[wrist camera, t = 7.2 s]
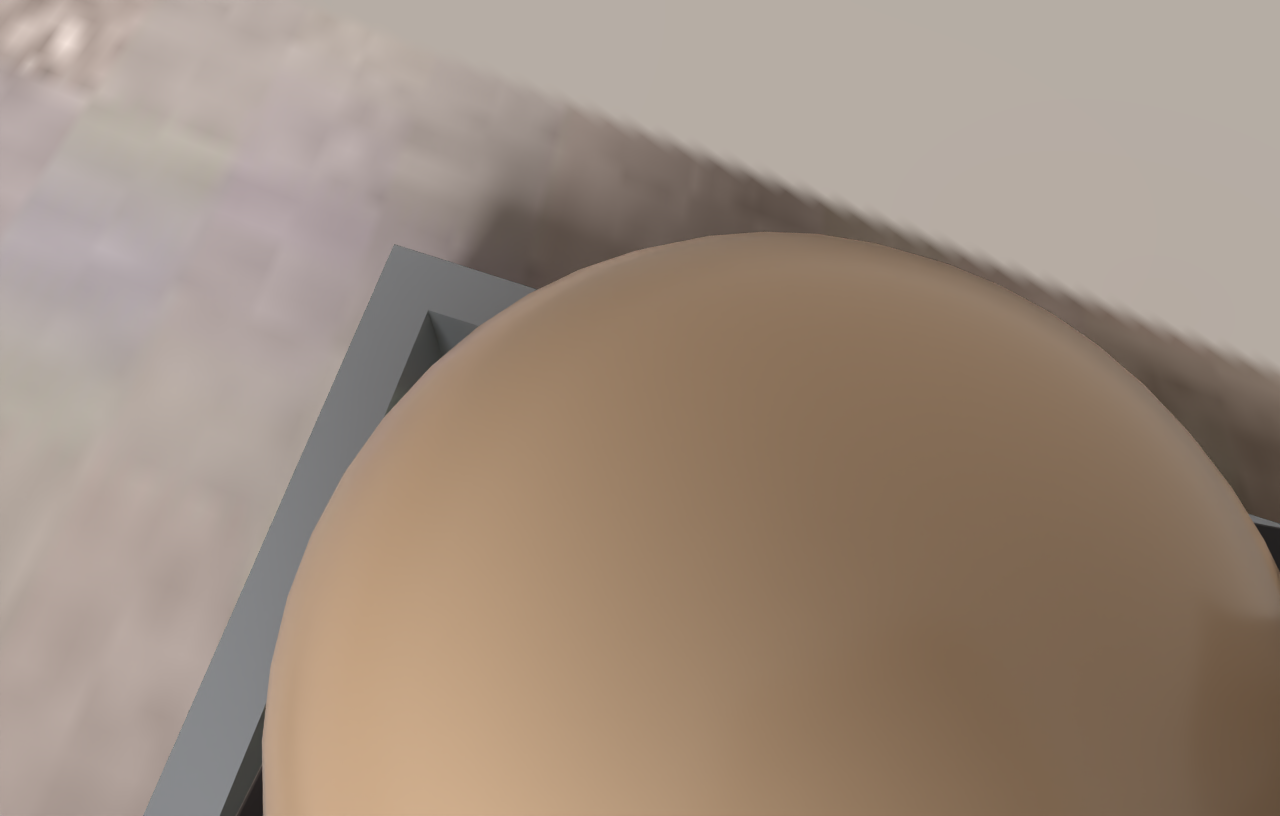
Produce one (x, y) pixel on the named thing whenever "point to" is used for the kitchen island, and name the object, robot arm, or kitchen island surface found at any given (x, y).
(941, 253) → the kitchen island surface
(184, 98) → the kitchen island surface
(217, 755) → the carton frame
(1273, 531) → the robot arm
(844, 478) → the beige rounded cylinder
